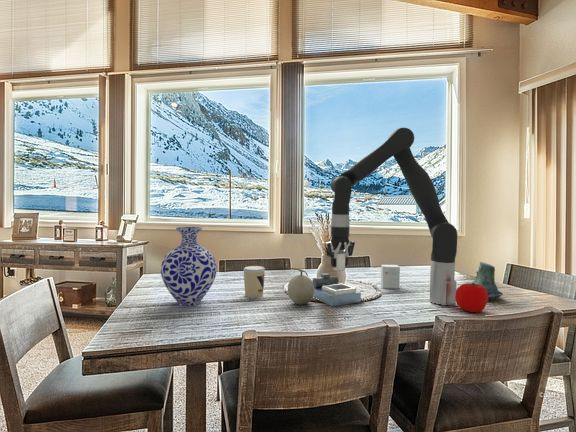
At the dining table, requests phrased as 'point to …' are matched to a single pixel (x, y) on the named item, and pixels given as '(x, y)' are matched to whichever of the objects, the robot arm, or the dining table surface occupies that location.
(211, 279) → the vase
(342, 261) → the pump module
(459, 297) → the tomato
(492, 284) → the tree stump
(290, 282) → the fruit
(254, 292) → the coffee cup
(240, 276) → the dining table surface
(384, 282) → the small box
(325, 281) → the motor housing
